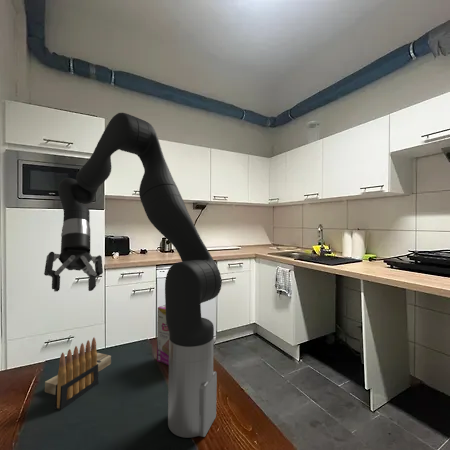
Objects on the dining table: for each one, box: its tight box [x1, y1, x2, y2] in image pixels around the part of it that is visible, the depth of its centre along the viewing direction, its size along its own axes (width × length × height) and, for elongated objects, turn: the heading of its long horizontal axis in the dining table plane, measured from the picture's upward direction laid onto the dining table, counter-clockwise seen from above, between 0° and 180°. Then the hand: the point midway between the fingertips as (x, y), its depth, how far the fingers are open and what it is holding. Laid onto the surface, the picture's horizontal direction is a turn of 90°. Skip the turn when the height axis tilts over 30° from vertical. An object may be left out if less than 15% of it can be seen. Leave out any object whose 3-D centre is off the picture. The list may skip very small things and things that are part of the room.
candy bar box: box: [156, 304, 169, 367], centre depth 77 cm, size 11×5×16 cm, turn 58°
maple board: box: [44, 352, 112, 396], centre depth 69 cm, size 5×16×2 cm, turn 160°
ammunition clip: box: [53, 337, 99, 411], centre depth 61 cm, size 11×2×12 cm, turn 162°
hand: (74, 290), depth 70 cm, fingers open, 8 cm apart
